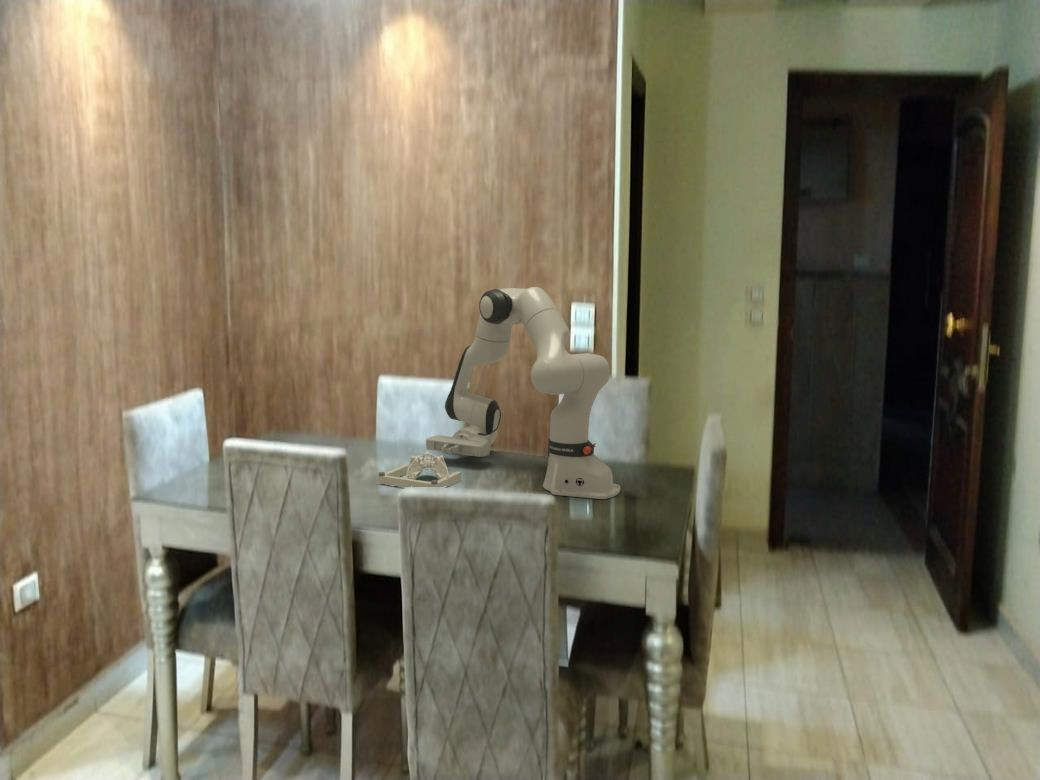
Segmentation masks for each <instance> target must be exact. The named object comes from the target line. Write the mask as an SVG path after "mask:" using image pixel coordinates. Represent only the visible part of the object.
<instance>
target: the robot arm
mask: <svg viewBox="0 0 1040 780" xmlns="http://www.w3.org/2000/svg"><path fill="white" fill-rule="evenodd" d="M478 308H479V313H480V314H479V317H478V321H477V326H476V332H475V336H474V339H473V342H472V344H471V345H468V346H467V347H465V349H464V350H463V352H462V354H461V357H460V360H459V363H458V365H457V369H456V372H455V376H454V379H453V383H452V386H451V388H450V391H449V392H448V395H447V397H446V399H445V403H444V410H445V412H446V414H447V416H448V417H449V419H451V420H455V421H459V422H463V423H467V424H469V426H466V427H464V428H462V429H459V430H457V431H456V432H454V434H453V436H451V435H442V434H440V435H439V434H438V435H432V436H430V437H429V436H428V437H427V438H426V439H425V448H426V450H427V451H433V452H434V451H436V452H441V453H442V454H447V455H452V454H457V455H459V456H461V457H469V456H472V457H479V458H481V457H482V458H483V457H488V456H489V455H490V454H491V445H492V444H493V443H494V442H495V440H496V439H497V438H498V437H497V436H498V428H499V426H500V422H501V418H502V417H501V416H502V412H501V409H500V406H499V403H498V402H497V401H496V400H494V399H491V398H487V397H485V396H480V395H478V394H475V393H471V392H469V390H468V385H469V382H470V379H471V376H472V373H473V370H474V368H475V367H476V366H477V367H478V366H483V365H492V364H495V363H498V362H500V361H501V360H503V359H505V357H506V356H507V354H508V351H509V348H510V344H511V343H510V342H511V337H512V336H511V335H512V329H513V328H512V327H513V326H514V325H521V324H523V326H524V328H525V330H526V332H527V334H528V336H529V338H530V340H531V342H532V343H533V346H534V348H535V349H534V350H535V352H536V360H535V361H534V364H533V365H532V367H531V370H530V371H531V372H530V379H531V383H532V385H533V387H534V389H535V390H536V391H537V393H541V394H547V395H554V396H555V395H556V396H557V395H563V397H562V398H561V401H560V402H559V404H557V405H556V406H555V407H554V408H553V409H552V411H551V413H550V422H549V423H550V424H549V438H548V441H547V458H548V460H547V461H548V462H547V468H546V473H545V478H544V481H543V483H542V488H544V489H545V490H547V491H549V492H550V493H551V495H553V496H554V495H555V496H566V497H573V498H574V497H575V498H586V499H587V498H588V499H597V500H607V499H611V498H613V497H616V496H617V495H618V494H620V492H621V486H620V485H619V484H618V483H617V484H616V483H614V477H613V476H614V475H613V473H612V472H613V471H612V469H611V467H610V466H608V465H607V464H606V463H605V462H604V461H602V460H601V458H599V457H598V456H597V455H596V454H594V453H595V448H596V444H597V443H596V442H594V443H592V442H591V441H590V440H589V428H590V427H589V426H590V415H591V411H592V408H593V405H594V403H595V401H596V399H597V396H598V395H599V393H600V391H601V390H602V389H603V388H604V386H606V384H608V382H609V380H610V377H611V369H610V364H609V362H608V360H607V359H606V358H605V357H604V356H602V355H599V354H595V353H590V352H585V353H573V354H572V353H569V352H568V351H567V350H566V345H567V344H568V343H569V341H570V337H571V331H570V328H569V327H568V325H567V323H566V321H565V320H564V318H563V316H562V314H561V312H560V310H559V309H558V306H556V304H555V302H554V301H553V300H552V298H551V297H550V295H548V293H547V292H546V290H544V289H543V288H541V287H539V286H531V287H528V288H524V287H523V288H518V287H505V288H498V289H497V288H493V289H489V290H487V291H485V292H483V294H482V295H481V297H480V300H479V307H478Z"/></svg>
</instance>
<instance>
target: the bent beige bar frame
mask: <svg viewBox="0 0 1040 780" xmlns="http://www.w3.org/2000/svg"><path fill="white" fill-rule="evenodd" d="M408 466H409V463H405V464H404V465H403V464H402V465H401V466H398V467H395V468H393V469H391V470H388V471H386V472H384V471H380V472H378V475H377V479H378V480H377V484H378V483H380V484H379V485H381V484H386V485H385V486H387V485H395V486H399V487H398V488H400V487H401V486H402V488H401V489H404V488H403V487H411V486H412V487H444V486H449V485H451V486H453V485H455V484H456V483H458V482H460V481H462V471H455V472H453V473H451V474H449V475H448V477H444V478H442V479H440V480H439V479H432V480H431V481H426V480H420V479H415V480H413V479H407V478H408V477H407V478H404V476H406V475H407V470H408ZM405 474H406V475H405ZM403 475H404V476H403ZM400 476H402V477H400ZM452 484H453V485H452ZM449 487H450V486H449Z"/></svg>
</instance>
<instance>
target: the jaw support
mask: <svg viewBox="0 0 1040 780" xmlns="http://www.w3.org/2000/svg"><path fill="white" fill-rule="evenodd" d="M425 456H426V457H425ZM408 464H409V466H408V470H407V474H406V477H407V479H413V480H418V479H417V478H418V477H419V476H420V475H421V473H423V471H428V470H429V469H430V471H432V472H433V474H434V475H435V477H436V478H437V480H440V479H442V478H444V477H448V475H450V474H449V469H448V467H447V463H446V461H445V459H444V456H443V454H441V455H434V454H432V453H431V452H430V451H429V450H426V451H424V453H423V454H422V455H421V454H419V455H413V454H412V455H411V457H410V460H409V463H408Z"/></svg>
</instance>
